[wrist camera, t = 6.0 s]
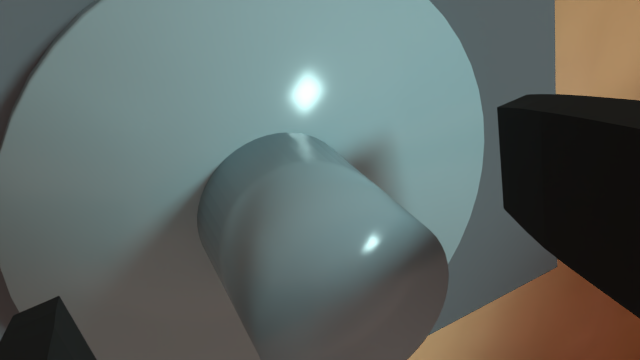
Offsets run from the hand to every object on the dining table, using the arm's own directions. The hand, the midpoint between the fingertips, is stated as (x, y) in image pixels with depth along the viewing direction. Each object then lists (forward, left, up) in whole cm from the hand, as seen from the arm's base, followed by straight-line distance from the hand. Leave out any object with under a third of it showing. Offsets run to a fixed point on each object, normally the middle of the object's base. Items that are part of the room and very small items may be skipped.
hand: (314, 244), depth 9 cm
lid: (0, 0, -2) cm, 3 cm away
